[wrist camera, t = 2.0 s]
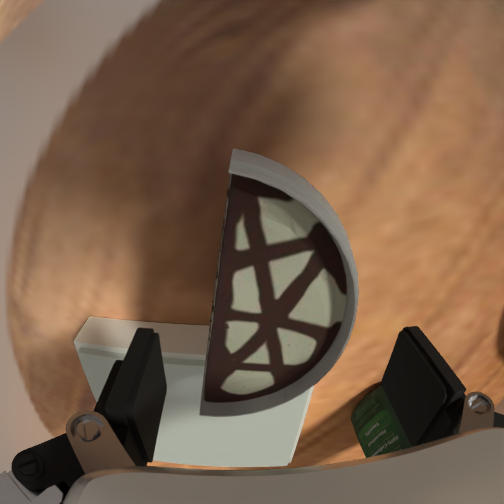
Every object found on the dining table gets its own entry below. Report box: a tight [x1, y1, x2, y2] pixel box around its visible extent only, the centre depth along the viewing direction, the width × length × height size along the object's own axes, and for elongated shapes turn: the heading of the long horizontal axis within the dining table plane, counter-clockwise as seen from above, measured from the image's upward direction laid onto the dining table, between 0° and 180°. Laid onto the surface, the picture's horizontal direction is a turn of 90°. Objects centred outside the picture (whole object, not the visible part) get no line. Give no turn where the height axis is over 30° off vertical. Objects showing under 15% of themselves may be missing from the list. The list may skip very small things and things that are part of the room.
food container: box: [199, 148, 359, 417], centre depth 16 cm, size 12×6×10 cm, turn 171°
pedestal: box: [73, 316, 314, 467], centre depth 24 cm, size 16×18×4 cm
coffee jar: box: [351, 385, 414, 458], centre depth 20 cm, size 10×8×19 cm
